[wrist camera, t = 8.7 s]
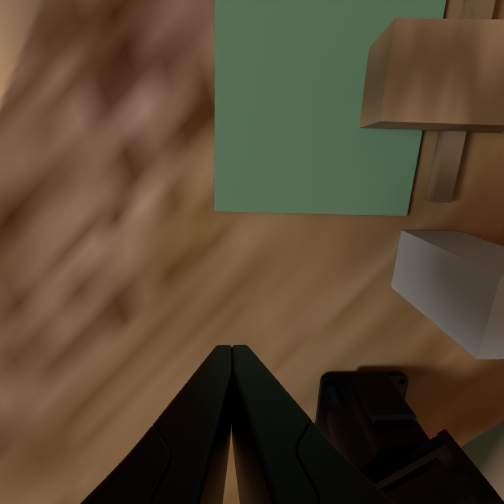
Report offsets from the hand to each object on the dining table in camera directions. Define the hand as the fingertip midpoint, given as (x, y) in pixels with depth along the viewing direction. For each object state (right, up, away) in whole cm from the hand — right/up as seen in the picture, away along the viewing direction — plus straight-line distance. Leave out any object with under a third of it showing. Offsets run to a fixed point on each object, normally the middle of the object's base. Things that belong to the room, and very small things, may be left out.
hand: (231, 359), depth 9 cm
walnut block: (+15, +11, +7) cm, 19 cm away
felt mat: (+5, +12, +9) cm, 16 cm away
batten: (+12, +12, +10) cm, 20 cm away
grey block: (+12, +2, +13) cm, 18 cm away
